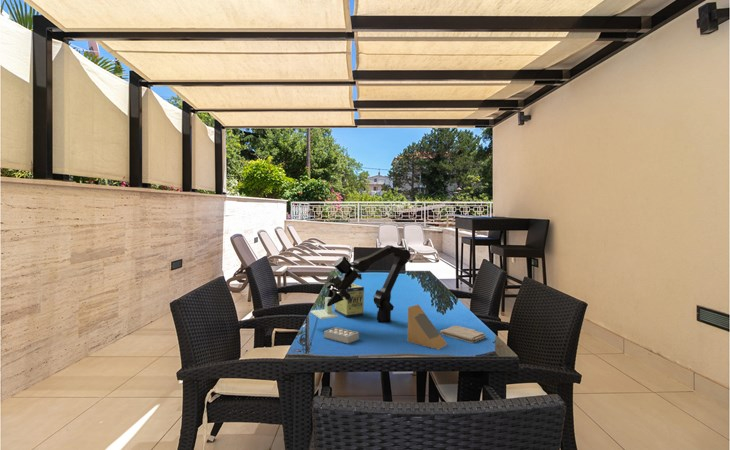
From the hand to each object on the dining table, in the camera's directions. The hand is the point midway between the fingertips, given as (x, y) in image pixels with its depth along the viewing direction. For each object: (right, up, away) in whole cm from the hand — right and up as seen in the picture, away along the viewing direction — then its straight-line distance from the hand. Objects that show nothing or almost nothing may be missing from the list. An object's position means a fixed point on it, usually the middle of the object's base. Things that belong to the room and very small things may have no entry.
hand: (326, 304), depth 183 cm
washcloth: (+63, -13, -8) cm, 65 cm away
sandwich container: (+45, -13, -18) cm, 50 cm away
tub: (+8, -12, -14) cm, 20 cm away
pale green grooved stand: (-1, -5, 0) cm, 5 cm away
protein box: (+10, -11, +30) cm, 33 cm away
